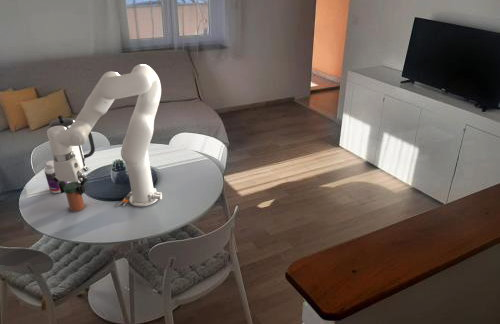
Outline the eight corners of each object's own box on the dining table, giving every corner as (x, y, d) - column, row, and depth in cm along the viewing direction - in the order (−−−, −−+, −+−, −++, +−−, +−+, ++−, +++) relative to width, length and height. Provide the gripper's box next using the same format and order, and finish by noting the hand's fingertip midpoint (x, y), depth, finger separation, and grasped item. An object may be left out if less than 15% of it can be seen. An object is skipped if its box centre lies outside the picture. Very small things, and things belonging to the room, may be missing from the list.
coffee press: (81, 178, 203) (67, 121, 189) (52, 176, 205) (36, 120, 192) (98, 162, 218) (86, 108, 204) (71, 161, 220) (57, 108, 207)
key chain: (131, 192, 189) (131, 189, 189) (138, 193, 188) (138, 190, 188) (115, 207, 178) (115, 204, 178) (123, 208, 177) (122, 205, 177)
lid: (70, 184, 178) (69, 181, 177) (84, 186, 176) (83, 182, 176) (60, 192, 172) (59, 189, 171) (74, 194, 170) (73, 190, 170)
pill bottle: (62, 194, 189) (54, 167, 182) (46, 193, 190) (38, 166, 184) (72, 186, 196) (65, 159, 189) (57, 184, 197) (49, 158, 191)
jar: (87, 204, 180) (82, 184, 176) (79, 212, 175) (73, 191, 170) (75, 203, 182) (70, 182, 177) (67, 210, 177) (61, 189, 172)
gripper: (87, 153, 168) (96, 189, 176) (51, 150, 172) (61, 186, 180) (76, 161, 162) (86, 199, 170) (39, 158, 166) (50, 195, 174)
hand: (73, 192), depth 175 cm, fingers open, 8 cm apart
